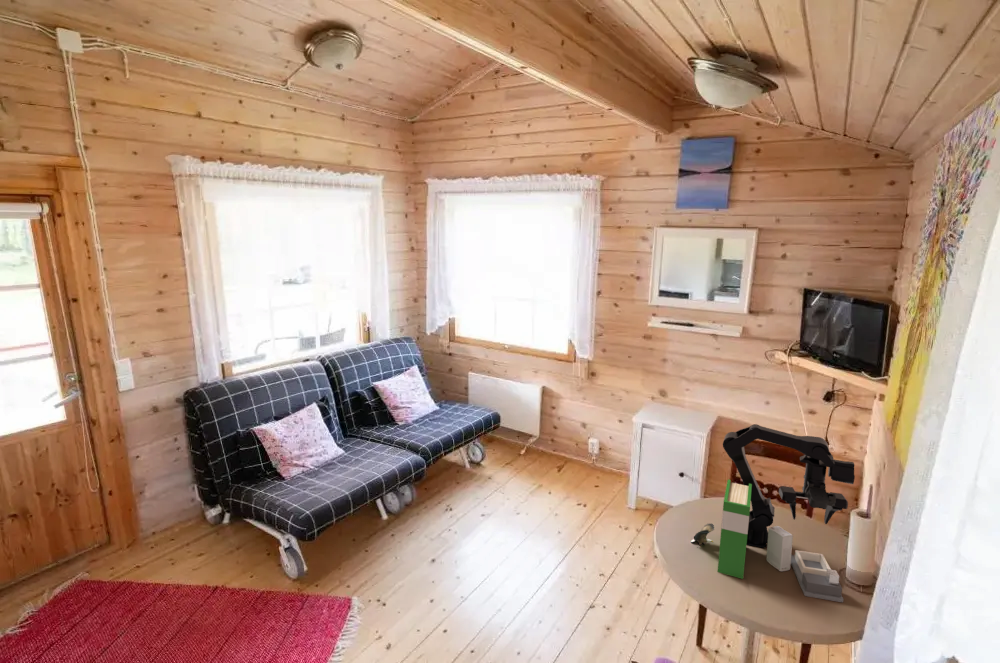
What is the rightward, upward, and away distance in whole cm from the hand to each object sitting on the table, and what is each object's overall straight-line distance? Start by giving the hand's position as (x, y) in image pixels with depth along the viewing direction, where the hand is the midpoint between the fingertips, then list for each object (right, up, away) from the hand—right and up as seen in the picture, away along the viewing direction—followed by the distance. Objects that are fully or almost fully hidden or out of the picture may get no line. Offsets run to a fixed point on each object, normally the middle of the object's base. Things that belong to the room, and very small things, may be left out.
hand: (809, 521), depth 172 cm
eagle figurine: (-33, -12, +6) cm, 36 cm away
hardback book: (-26, -13, 0) cm, 29 cm away
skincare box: (-12, -14, -2) cm, 18 cm away
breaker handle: (-3, -12, -17) cm, 21 cm away
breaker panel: (-4, -15, -9) cm, 18 cm away
